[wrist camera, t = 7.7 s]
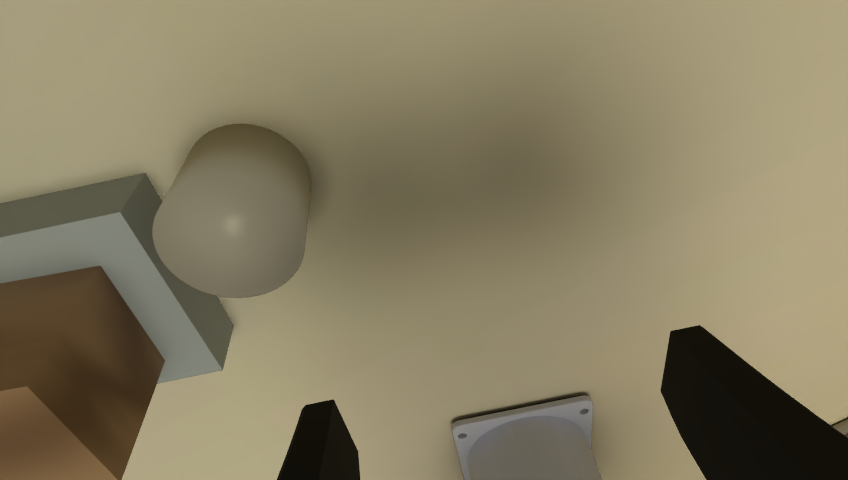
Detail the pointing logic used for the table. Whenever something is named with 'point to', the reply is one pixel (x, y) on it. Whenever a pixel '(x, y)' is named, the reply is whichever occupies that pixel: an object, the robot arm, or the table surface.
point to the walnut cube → (71, 377)
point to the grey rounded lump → (236, 213)
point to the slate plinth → (118, 265)
